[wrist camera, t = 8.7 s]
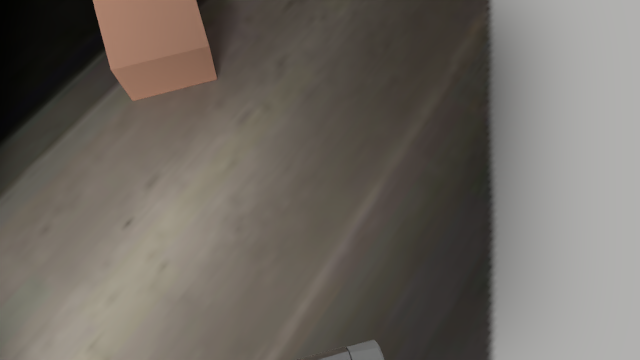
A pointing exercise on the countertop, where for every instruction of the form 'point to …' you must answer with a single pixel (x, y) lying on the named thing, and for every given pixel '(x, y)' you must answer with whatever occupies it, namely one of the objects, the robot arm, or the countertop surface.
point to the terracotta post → (155, 45)
